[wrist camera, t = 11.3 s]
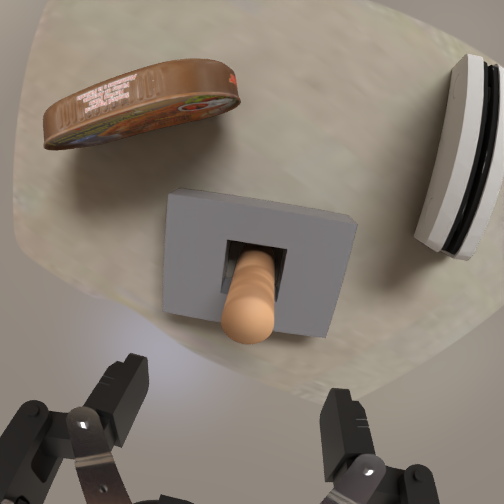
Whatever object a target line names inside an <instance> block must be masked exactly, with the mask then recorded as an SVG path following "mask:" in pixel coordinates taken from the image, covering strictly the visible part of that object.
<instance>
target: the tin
mask: <svg viewBox="0 0 504 504" xmlns="http://www.w3.org/2000/svg"><path fill="white" fill-rule="evenodd" d="M240 103H241V100H240V98H239V96H238V91H237V83H236V77H235V73H234V72H233V70H232V69H231V68H229V67H228V66H227V65H225V64H224V63H222V62H219V61H215V60H209V59H180V60H173V61H167V62H162V63H158V64H154V65H151V66H147V67H144V68H141V69H137V70H134V71H131V72H128V73H125V74H122V75H119V76H117V77H114V78H111V79H108V80H106V81H103V82H100V83H98V84H95V85H93V86H91V87H88V88H86V89H83V90H81V91H79V92H77V93H74V94H72V95H70V96H68V97H65V98H63V99H61V100H59V101H58V102H56V103H54V104H53V105H52V106H50V107H49V108H48V109H47V110H46V112H45V114H44V116H43V130H44V148H45V149H47V150H67V149H74V148H81V147H87V146H93V145H98V144H102V143H107V142H110V141H114V140H118V139H122V138H125V137H129V136H132V135H136V134H140V133H144V132H147V131H151V130H155V129H159V128H164V127H168V126H172V125H177V124H181V123H186V122H191V121H195V120H200V119H204V118H208V117H212V116H215V115H219V114H222V113H225V112H228V111H230V110H232V109H234V108H236V107H237V106H238V105H239V104H240Z"/></svg>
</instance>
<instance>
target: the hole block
mask: <svg viewBox="0 0 504 504" xmlns="http://www.w3.org/2000/svg"><path fill="white" fill-rule="evenodd" d="M356 229H357V224H356V223H355V222H354V221H353V219H352V218H351V217H350V216H349V215H345V214H340V213H334V212H329V211H324V210H318V209H313V208H307V207H302V206H296V205H290V204H284V203H279V202H273V201H266V200H260V199H254V198H247V197H241V196H234V195H228V194H221V193H214V192H206V191H199V190H192V189H184V188H179V189H177V190H175V191H173V192H171V193H169V194H168V203H167V216H166V231H165V248H164V271H163V312H168V313H172V314H177V315H182V316H187V317H193V318H198V319H203V320H209V321H214V322H220V323H221V316H222V313H223V309H224V306H225V302H226V299H227V295H228V292H229V288H230V285H231V281H232V279H231V278H226V271H227V263H228V256H229V248H230V240H234V241H240V242H246V243H253V244H259V245H265V246H271V247H277V248H283V249H284V251H283V256H282V261H281V266H280V271H279V276H278V282H277V286H274V328H273V331H276V332H283V333H290V334H298V335H305V336H313V337H322V338H326V335H327V332H328V329H329V326H330V323H331V320H332V316H333V313H334V310H335V307H336V303H337V300H338V296H339V293H340V289H341V286H342V282H343V279H344V275H345V272H346V268H347V264H348V260H349V257H350V253H351V249H352V245H353V241H354V237H355V233H356Z"/></svg>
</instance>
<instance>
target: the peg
mask: <svg viewBox="0 0 504 504" xmlns="http://www.w3.org/2000/svg"><path fill="white" fill-rule="evenodd" d="M274 277H275V258H274V253H273V251H272V249H271V248H270V247H269V246H265V245H259V244H253V243H248V244H246V245H245V246H244V247H243V248H242V249H241V251H240V254H239V257H238V261H237V264H236V268H235V271H234V275H233V278H232V281H231V285H230V288H229V292H228V295H227V299H226V302H225V306H224V309H223V313H222V316H221V325H222V328H223V331H224V332H225V333H226V335H227V336H228V337H229V338H231V339H232V340H234V341H236V342H239V343H242V344H256V343H259V342H261V341H263V340H265V339H266V338H268V337H269V335H270V334H271V333H272V331H273V328H274Z"/></svg>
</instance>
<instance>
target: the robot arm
mask: <svg viewBox="0 0 504 504" xmlns="http://www.w3.org/2000/svg"><path fill="white" fill-rule="evenodd" d="M148 387H149V374H148V360H147V358H146V357H144V356H140V355H136V354H133V353H130V354H129V355H128V356H127V358H126V360H125V361H124V363H122V362H119V361H117V362H115V363H114V364H112V365H111V366H109V367H108V368H107V370H106V371H105V373H104V375H103V376H102V378H101V379H100V381H99V383H98V384H97V385H96V387H95V388H94V390H93V391H92V393H91V394H90V396H89V397H88V399H87V401H86V402H85V404H84V405H83V406H82V407H77V408H74V409H72V410H71V411H70V412H69V413H62V412H53V411H49V410H48V408H47V406H46V405H45V404H44V403H43V402H40V401H37V400H30V401H27V402H25V403H24V404H23V405H22V406H21V407H20V408H19V410H18V411H17V413H16V414H15V416H14V417H13V419H12V420H11V422H10V423H9V425H8V426H7V428H6V429H5V431H4V432H3V434H2V435H1V437H0V504H43V503H44V500H45V498H46V496H47V493H48V491H49V489H50V487H51V484H52V482H53V480H54V478H55V476H56V473H57V471H58V469H59V467H60V465H61V463H62V461H63V458H68V459H75V461H76V462H75V468H76V471H77V475H78V478H79V482H80V485H81V488H82V491H83V494H84V497H85V500H86V503H87V504H132V502H131V500H130V498H129V495H128V493H127V491H126V488H125V486H124V484H123V481H122V479H121V477H120V474H119V472H118V469H117V467H116V464H115V461H114V459H113V456H112V454H111V451H112V448H113V446H114V445H115V446H118V447H121V448H122V446H123V444H124V442H125V440H126V438H127V435H128V433H129V431H130V429H131V427H132V424H133V422H134V420H135V418H136V416H137V414H138V411H139V409H140V407H141V405H142V402H143V401H144V399H145V397H146V394H147V391H148ZM368 427H369V425H368V421H367V417H366V413H365V409H364V408H363V407H362V405H361V404H360V403H359V401H352V399H351V395H350V391H349V389H339V388H331V390H330V392H329V394H328V396H327V399H326V401H325V403H324V406H323V408H322V411H321V414H320V432H321V442H322V452H323V463H324V475H325V482H333V484H334V488H333V489H332V490H331V491H330V492H329V494H328V495H327V496H326V497H325V498H324V500H323V501H322V502H321V503H320V504H440V503H439V499H438V494H437V490H436V486H435V482H434V478H433V475H432V472H431V471H430V470H429V469H428V468H427V467H426V466H423V465H420V464H415V465H411V466H409V467H408V468H407V469H406V470H401V469H397V468H392V467H388V466H386V465H385V463H384V461H383V460H382V459H381V458H380V457H378V456H376V454H375V450H374V446H373V441H372V437H371V433H370V429H369V428H368ZM134 504H194V503H191V502H189V501H186V500H182V499H177V498H173V497H169V496H165V495H160V498H159V500H146V501H140V502H136V503H134Z"/></svg>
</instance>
